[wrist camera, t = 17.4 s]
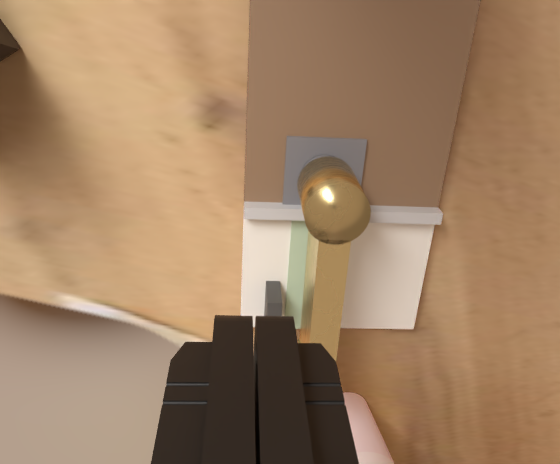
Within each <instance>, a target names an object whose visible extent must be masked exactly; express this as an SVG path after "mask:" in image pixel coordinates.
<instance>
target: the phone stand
mask: <svg viewBox="0 0 560 464" xmlns="http://www.w3.org/2000/svg"><path fill="white" fill-rule="evenodd" d="M19 49H20V46H19V44H18V42H17V41H16V40H15V38H14V37H13V36H12V34H11V33H10V32H9V30H8V29H7V28H6V26H5V25H4V23H3V22H2V21H1V19H0V61H1V60H3V59H4V58H6V57H8V56H9V55H11V54H12V53H14V52H15V51H17V50H19Z"/></svg>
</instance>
